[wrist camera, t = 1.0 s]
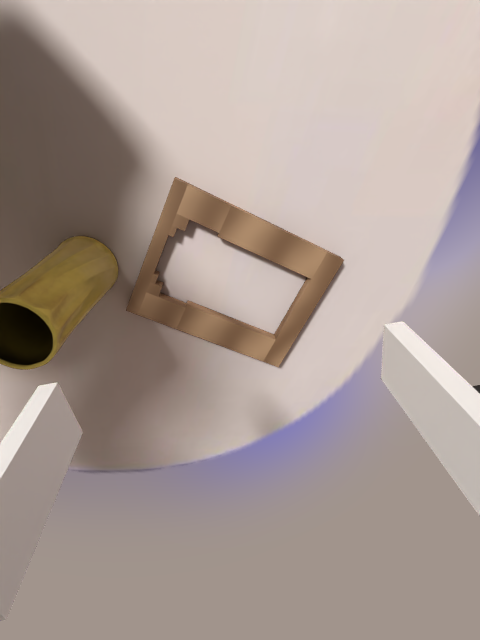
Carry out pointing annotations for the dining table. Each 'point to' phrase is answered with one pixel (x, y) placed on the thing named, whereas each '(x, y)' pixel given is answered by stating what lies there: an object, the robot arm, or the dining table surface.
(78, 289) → the vase
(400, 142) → the dining table surface
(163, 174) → the dining table surface
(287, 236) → the keyhole board
